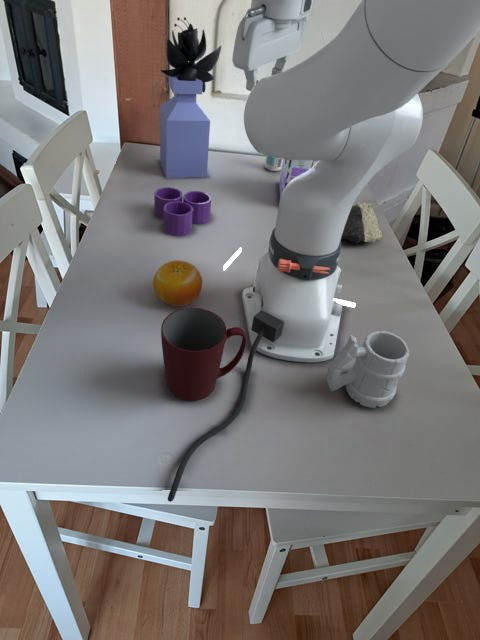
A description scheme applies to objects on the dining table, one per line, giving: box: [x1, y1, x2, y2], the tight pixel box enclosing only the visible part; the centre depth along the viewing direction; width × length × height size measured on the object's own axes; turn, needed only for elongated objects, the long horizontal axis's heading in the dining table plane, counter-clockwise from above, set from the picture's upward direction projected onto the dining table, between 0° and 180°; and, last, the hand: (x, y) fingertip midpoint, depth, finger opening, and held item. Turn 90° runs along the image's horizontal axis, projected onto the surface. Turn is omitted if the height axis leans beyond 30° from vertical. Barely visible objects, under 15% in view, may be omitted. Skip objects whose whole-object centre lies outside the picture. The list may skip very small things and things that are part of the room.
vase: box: [159, 16, 222, 179], centre depth 116 cm, size 14×12×35 cm
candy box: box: [278, 159, 315, 199], centre depth 116 cm, size 14×6×16 cm, turn 179°
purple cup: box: [153, 186, 184, 220], centre depth 106 cm, size 6×6×5 cm
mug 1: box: [160, 307, 248, 402], centre depth 68 cm, size 12×9×11 cm
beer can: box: [264, 155, 283, 172], centre depth 129 cm, size 5×5×12 cm
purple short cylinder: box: [183, 190, 212, 225], centre depth 106 cm, size 6×6×5 cm
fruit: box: [152, 260, 203, 307], centre depth 83 cm, size 8×8×8 cm
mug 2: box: [326, 330, 410, 409], centre depth 69 cm, size 8×12×12 cm, turn 102°
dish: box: [162, 201, 193, 237], centre depth 102 cm, size 6×6×5 cm
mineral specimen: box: [341, 202, 383, 243], centre depth 107 cm, size 13×7×15 cm
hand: (264, 83), depth 92 cm, fingers open, 8 cm apart
